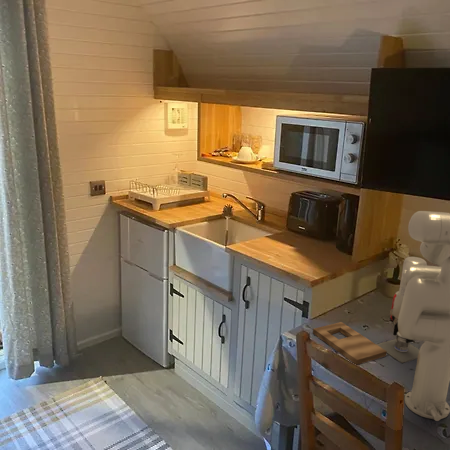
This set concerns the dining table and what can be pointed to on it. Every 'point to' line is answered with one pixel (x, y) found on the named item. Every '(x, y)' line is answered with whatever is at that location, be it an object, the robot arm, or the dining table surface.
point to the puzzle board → (350, 343)
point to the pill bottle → (401, 343)
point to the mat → (398, 355)
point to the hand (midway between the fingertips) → (403, 337)
